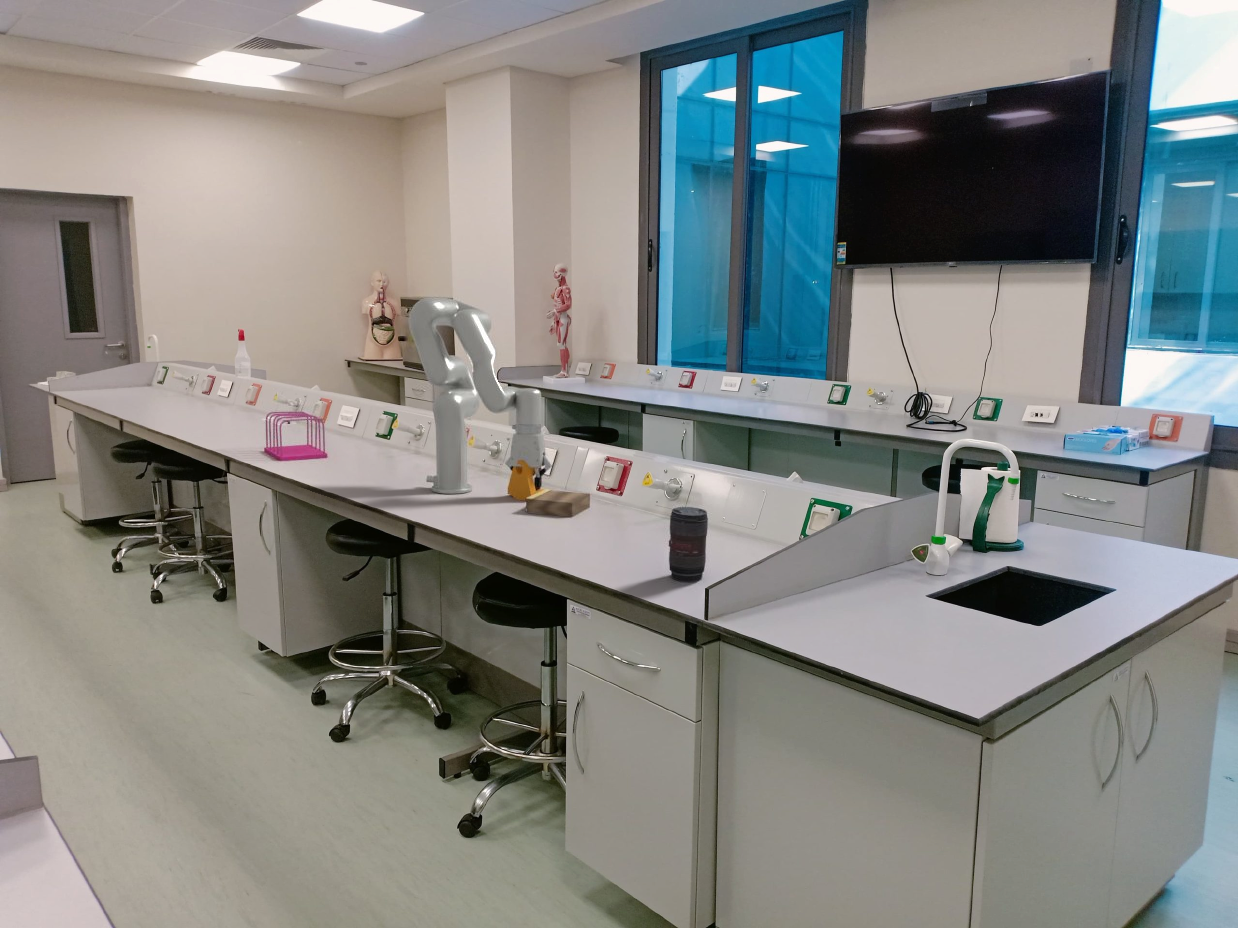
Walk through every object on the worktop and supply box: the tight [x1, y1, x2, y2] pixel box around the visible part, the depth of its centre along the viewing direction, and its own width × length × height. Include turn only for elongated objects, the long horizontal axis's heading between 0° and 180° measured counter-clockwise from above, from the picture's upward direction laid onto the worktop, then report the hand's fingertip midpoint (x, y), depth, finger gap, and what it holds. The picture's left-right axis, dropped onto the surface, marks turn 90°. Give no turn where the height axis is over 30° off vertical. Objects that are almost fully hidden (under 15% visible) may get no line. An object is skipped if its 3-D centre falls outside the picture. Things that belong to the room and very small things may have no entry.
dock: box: [525, 488, 591, 518], centre depth 259 cm, size 14×14×4 cm
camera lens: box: [668, 506, 709, 583], centre depth 195 cm, size 8×8×15 cm
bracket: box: [507, 460, 546, 502], centre depth 275 cm, size 11×7×12 cm, turn 46°
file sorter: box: [263, 411, 328, 462], centre depth 342 cm, size 17×25×16 cm
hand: (528, 488), depth 275 cm, fingers open, 5 cm apart
